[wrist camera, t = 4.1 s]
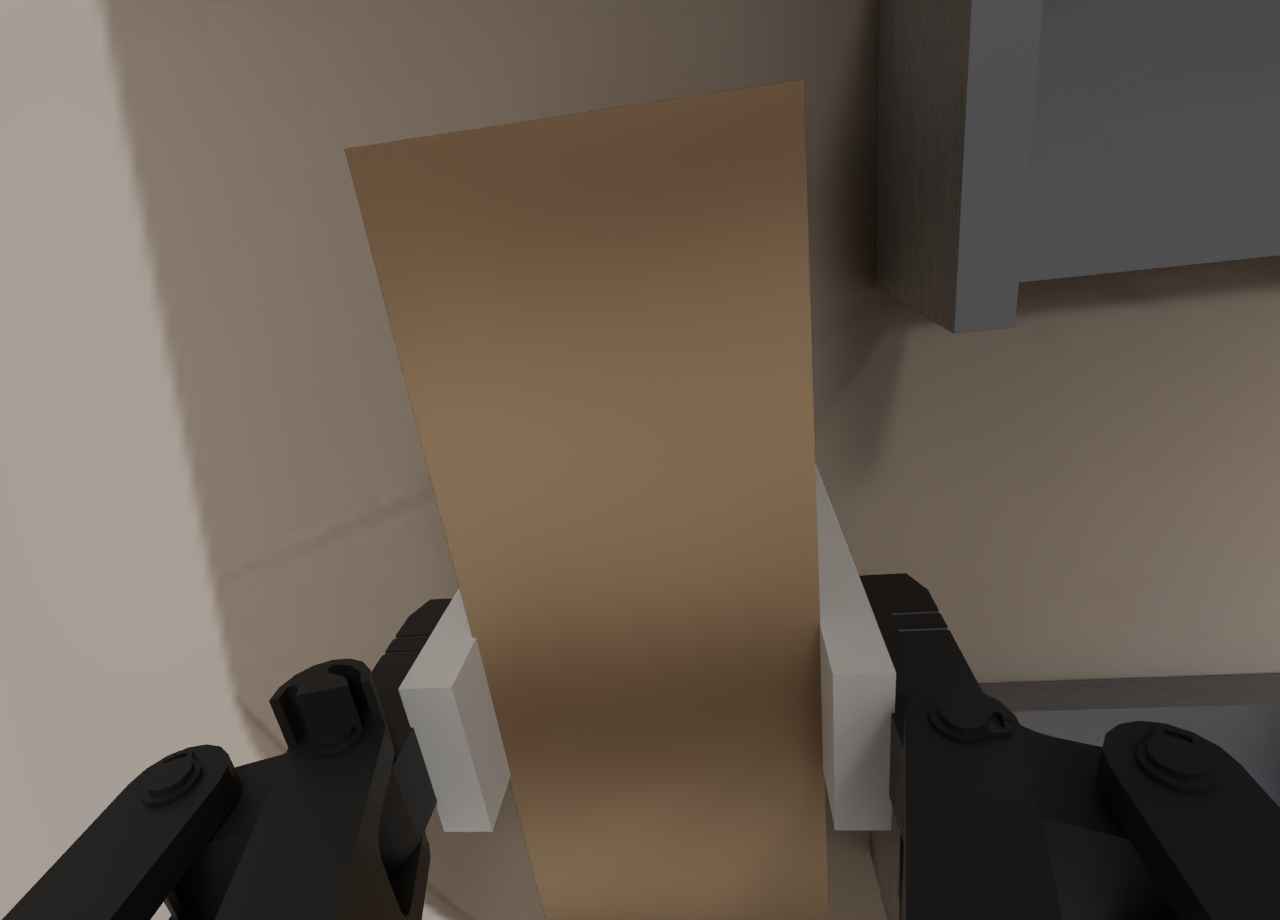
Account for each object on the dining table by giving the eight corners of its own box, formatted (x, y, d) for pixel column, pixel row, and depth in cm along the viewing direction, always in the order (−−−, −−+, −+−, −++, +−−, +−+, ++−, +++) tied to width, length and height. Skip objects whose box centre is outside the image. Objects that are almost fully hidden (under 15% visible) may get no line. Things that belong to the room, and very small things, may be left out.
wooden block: (498, 164, 13) (344, 148, 7) (759, 126, 12) (803, 79, 7) (613, 781, 19) (574, 1028, 13) (794, 778, 18) (832, 1037, 13)
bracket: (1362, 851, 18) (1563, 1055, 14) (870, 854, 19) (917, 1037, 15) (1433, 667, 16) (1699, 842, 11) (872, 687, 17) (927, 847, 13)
